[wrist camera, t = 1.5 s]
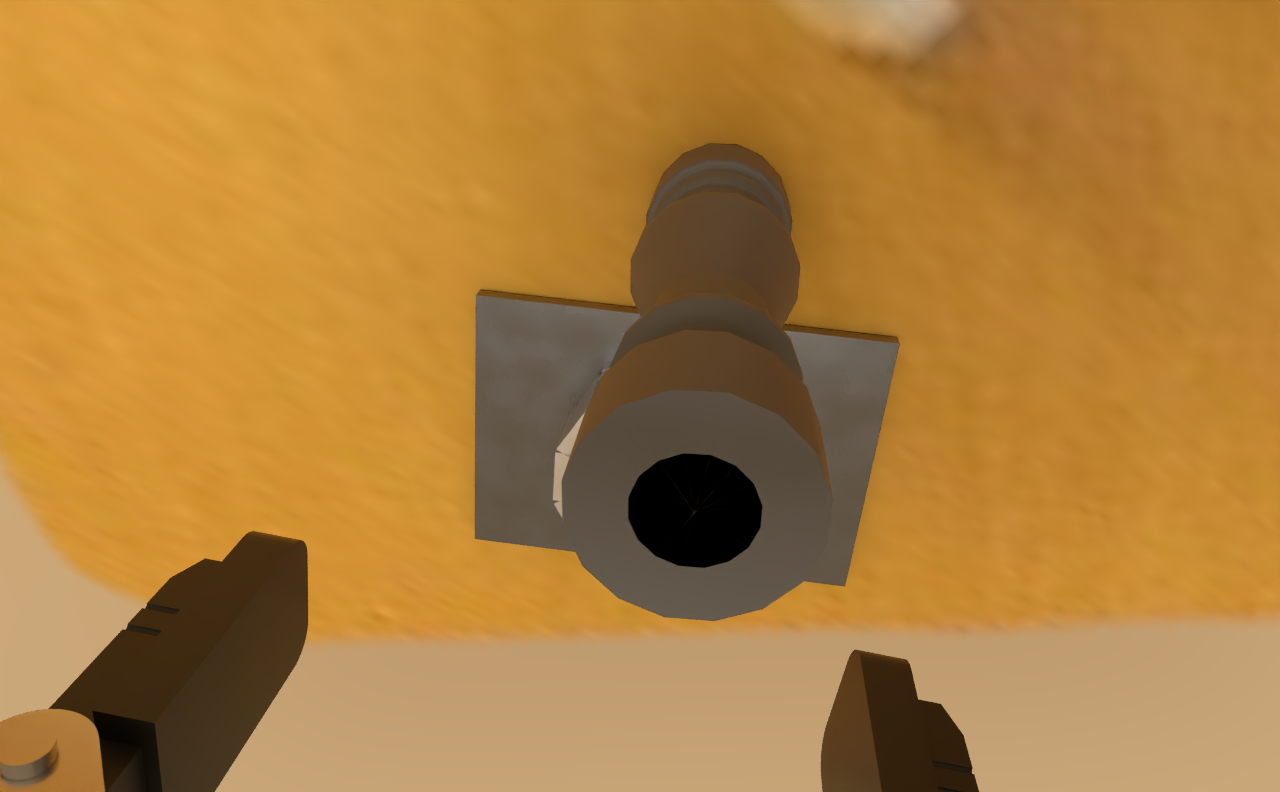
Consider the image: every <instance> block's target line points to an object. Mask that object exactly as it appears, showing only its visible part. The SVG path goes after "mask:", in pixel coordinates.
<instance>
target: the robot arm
mask: <svg viewBox="0 0 1280 792" xmlns="http://www.w3.org/2000/svg"><path fill="white" fill-rule="evenodd" d="M307 628H308V564H307V547H306V544H305V543H304V541H302V540H297V539H291V538H286V537H281V536H276V535H271V534H266V533H261V532H255V531H251V532H249V533H247V534H246V535H245V536H244V537H243V538H242V539H241V540H240V542H239V543H238V544H237V545H236V546H235V547H234V548H233V550H232V551H231V552H230V553H229V554H228V555H227V556H226V558H225V559H224V560H223V561H222V562H220V561H215V560H210V559H204V560H202V561H200V562H198V563H196V564H195V565H193V566H191V567H189V568H187V569H186V570H184V571H182V572H180V573H178V574H177V575H175V576H173V577H171V578H170V579H169V580H168V581H167V582H166V583H165V584H164V586H163V587H162V588H161V589H160V590H159V591H158V592H157V593H156V594H155V595H154V596H153V597H152V598H151V599H150V601H149V602H148V603H147V606H146V608H145V609H144V608H142V609H141V610H140V611H139V613H137V615H136V616H135V617H134V618H133V619H132V620H131V621H130V622H129V623H128V626H127V629H126V630H122V631H121V632H120V633H119V634H118V635H117V636H116V637H115V638H114V639H113V640H112V641H111V643H110V644H109V645H108V646H107V647H106V648H105V649H104V650H103V651H102V652H101V653H100V654H99V655H98V656H97V658H96V659H95V660H94V661H93V662H92V663H91V664H90V665H89V666H88V667H87V668H86V669H85V670H84V671H83V673H82V674H81V675H80V676H79V677H78V678H77V679H76V680H75V681H74V682H73V683H72V684H71V685H70V687H69V688H68V689H67V690H66V691H65V692H64V693H63V694H62V695H61V696H60V697H59V698H58V699H57V701H56V702H55V703H54V704H53V705H52V706H51V707H50V708H49V709H45V710H36V711H31V712H26V713H23V714H19V715H16V716H13V717H11V718H8V719H6V720H3V721H2V722H0V792H215V790H216V788H217V787H218V786H219V784H220V782H221V781H222V779H223V778H224V776H225V775H226V773H227V772H228V770H229V768H230V767H231V765H232V764H233V762H234V761H235V759H236V758H237V756H238V754H239V753H240V751H241V750H242V748H243V747H244V745H245V743H246V742H247V740H248V739H249V737H250V736H251V734H252V733H253V731H254V729H255V728H256V726H257V725H258V723H259V722H260V720H261V718H262V717H263V715H264V714H265V712H266V711H267V709H268V707H269V706H270V704H271V703H272V701H273V700H274V698H275V697H276V695H277V693H278V692H279V690H280V689H281V687H282V686H283V684H284V682H285V681H286V679H287V678H288V676H289V675H290V673H291V672H292V670H293V668H294V667H295V665H296V663H297V661H298V659H299V657H300V654H301V652H302V649H303V646H304V643H305V639H306V634H307ZM821 779H822V789H823V792H979V790H978V787H977V783H976V779H975V776H974V774H972V765H971V761H970V758H969V754H968V750H967V747H966V743H965V739H964V736H963V734H962V733H961V731H960V730H959V729H958V727H957V726H956V724H955V723H954V722H953V720H952V719H951V717H950V716H949V715H948V713H947V712H946V711H945V709H944V708H943V706H942V705H941V704H937V703H933V702H928V701H923V700H918V697H917V693H916V688H915V684H914V680H913V675H912V671H911V667H910V664H909V663H908V661H907V660H905V659H900V658H895V657H891V656H885V655H880V654H875V653H870V652H865V651H860V650H854V651H853V652H852V653H851V655H850V657H849V660H848V662H847V665H846V669H845V671H844V674H843V677H842V681H841V683H840V686H839V689H838V692H837V695H836V698H835V701H834V704H833V707H832V710H831V713H830V716H829V719H828V722H827V725H826V728H825V733H824V738H823V744H822V752H821Z"/></svg>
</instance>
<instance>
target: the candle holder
mask: <svg viewBox="0 0 1280 792" xmlns="http://www.w3.org/2000/svg"><path fill="white" fill-rule="evenodd" d="M791 227H792V217H791V212H790V207H789V202H788V199H787V196H786V193H785V190H784V187H783V184H782V181H781V178H780V176H779V175H778V173H777V172H776V171H775V170H774V169H773V168H772V167H771V166H770V164H769V163H768V162H767V161H766V160H765V159H764V158H763V157H762V156H761V155H759V154H757V153H754V152H752V151H750V150H748V149H746V148H744V147H742V146H739V145H737V144H707V145H704V146H702V147H699V148H696V149H694V150H691V151H689V152H686V153H684V154H683V155H681V156H680V157H679V158H678V159H677V160H676V161H675V162H674V163H673V164H672V165H671V166H670V167H669V168H668V169H667V170H666V171H665V172H664V173H663V175H662V178H661V180H660V182H659V185H658V187H657V189H656V191H655V194H654V196H653V198H652V201H651V204H650V207H649V209H648V212H647V218H646V226H645V228H644V231H643V233H642V235H641V237H640V240H639V242H638V244H637V246H636V249H635V251H634V253H633V255H632V258H631V291H630V292H631V294H632V297H633V299H634V302H635V304H636V307H637V309H638V312H639V314H640V318H639V319H638V320H637V321H636V322H635V323H633V324H632V325H631V326H630V327H629V328H628V329H627V330H626V331H625V334H624V336H623V338H622V340H621V342H620V344H619V347H618V349H617V351H616V353H615V355H614V358H613V360H612V362H611V365H610V369H609V370H608V371H606V372H605V373H604V374H603V375H602V377H601V379H600V381H599V383H598V385H597V387H596V390H595V392H594V394H593V396H592V398H591V401H590V403H589V405H588V407H587V409H586V411H585V414H584V417H583V420H582V422H581V425H580V428H579V431H578V434H577V437H576V440H575V443H574V446H573V449H572V452H571V454H570V457H569V460H568V463H567V466H566V469H565V472H564V475H563V478H562V481H561V484H562V522H563V527H564V529H565V531H566V533H567V536H568V538H569V540H570V542H571V544H572V546H573V548H574V550H575V552H576V554H577V556H578V558H579V560H580V562H581V564H582V566H583V567H584V568H585V569H586V570H587V571H588V572H590V573H591V574H592V575H593V576H594V577H595V578H596V579H597V580H599V581H600V582H601V583H602V584H603V585H604V586H605V587H606V588H608V589H609V590H610V591H611V592H612V593H613V594H614V595H615V596H617V597H618V598H619V599H622V600H624V601H626V602H629V603H631V604H634V605H636V606H639V607H641V608H643V609H646V610H648V611H651V612H653V613H656V614H658V615H660V616H663V617H669V618H682V619H695V620H709V621H716V620H720V619H724V618H728V617H733V616H737V615H741V614H745V613H749V612H753V611H757V610H761V609H763V608H765V607H766V606H768V605H769V604H771V603H772V602H774V601H775V600H777V599H778V598H780V597H781V596H783V595H784V594H786V593H787V592H789V591H790V590H792V589H793V588H795V587H796V586H798V585H799V584H801V583H802V582H803V581H804V579H805V577H806V576H807V574H808V573H809V571H810V570H811V568H812V567H813V565H814V564H815V562H816V561H817V559H818V557H819V556H820V554H821V553H822V551H823V550H824V548H825V547H826V545H827V543H828V535H829V527H830V519H831V511H832V503H833V495H832V489H831V483H830V478H829V472H828V466H827V460H826V454H825V448H824V442H823V436H822V431H821V426H820V423H819V420H818V417H817V415H816V412H815V409H814V406H813V403H812V400H811V397H810V395H809V392H808V389H807V386H806V385H805V384H804V383H803V372H802V370H801V367H800V364H799V361H798V358H797V355H796V352H795V350H794V347H793V344H792V341H791V338H790V337H789V336H788V335H787V334H786V333H785V332H784V330H783V329H782V326H783V325H784V323H785V321H786V319H787V317H788V315H789V314H790V312H791V310H792V308H793V306H794V304H795V303H796V301H797V296H798V285H799V275H800V264H799V260H798V257H797V254H796V251H795V248H794V245H793V242H792V239H791Z"/></svg>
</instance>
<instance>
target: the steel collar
mask: <svg viewBox="0 0 1280 792" xmlns="http://www.w3.org/2000/svg"><path fill="white" fill-rule="evenodd" d="M639 318H640V314H639V312H638V309H637V308H636V307H627V306H619V305H610V304H601V303H592V302H583V301H575V300H566V299H557V298H548V297H540V296H531V295H522V294H513V293H504V292H496V291H487V290H480V291H479V292H478V293H477V295H476V403H475V539H480V540H488V541H496V542H503V543H511V544H519V545H527V546H535V547H542V548H550V549H558V550H566V551H573V552H575V550H574V548H573V546H572V544H571V542H570V540H569V538H568V536H567V533H566V531H565V529H564V527H563V522H562V484H561V481H562V478H563V475H564V472H565V469H566V466H567V463H568V460H569V457H570V454H571V452H572V449H573V446H574V443H575V440H576V437H577V434H578V431H579V428H580V425H581V422H582V420H583V417H584V414H585V411H586V409H587V407H588V405H589V403H590V401H591V398H592V396H593V394H594V392H595V390H596V387H597V385H598V383H599V381H600V379H601V377H602V375H603V374H604V373H605V372H606V371H608V370H609V369H610V365H611V362H612V360H613V358H614V355H615V353H616V351H617V349H618V347H619V344H620V342H621V340H622V338H623V336H624V334H625V331H626V330H627V329H628V328H629V327H630V326H631V325H632V324H633V323H635V322H636V321H637V320H638V319H639ZM782 329H783V330H784V332H785V333H786V334H787V335H788V336H789V337H790V338H791V341H792V344H793V347H794V350H795V352H796V355H797V358H798V361H799V364H800V367H801V370H802V372H803V383H804V384H805V385H806V386H807V389H808V392H809V395H810V397H811V400H812V403H813V406H814V409H815V412H816V415H817V417H818V420H819V423H820V426H821V431H822V436H823V442H824V448H825V454H826V460H827V466H828V472H829V478H830V483H831V489H832V495H833V503H832V511H831V519H830V527H829V535H828V543H827V545H826V547H825V548H824V550H823V551H822V553H821V554H820V556H819V557H818V559H817V561H816V562H815V564H814V565H813V567H812V568H811V570H810V571H809V573H808V574H807V576H806V577H805V579H804V581H807V582H814V583H822V584H830V585H838V586H845V584H846V579H847V575H848V570H849V566H850V561H851V557H852V553H853V548H854V544H855V539H856V535H857V530H858V526H859V522H860V517H861V513H862V508H863V504H864V499H865V495H866V490H867V486H868V482H869V477H870V473H871V468H872V464H873V459H874V455H875V450H876V446H877V442H878V437H879V433H880V428H881V424H882V419H883V415H884V411H885V406H886V402H887V397H888V393H889V388H890V384H891V379H892V375H893V371H894V366H895V362H896V357H897V353H898V348H899V344H900V343H899V341H898V339H897V337H891V336H882V335H873V334H864V333H856V332H847V331H838V330H829V329H820V328H812V327H803V326H794V325H785V324H784V325H783V326H782Z"/></svg>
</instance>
